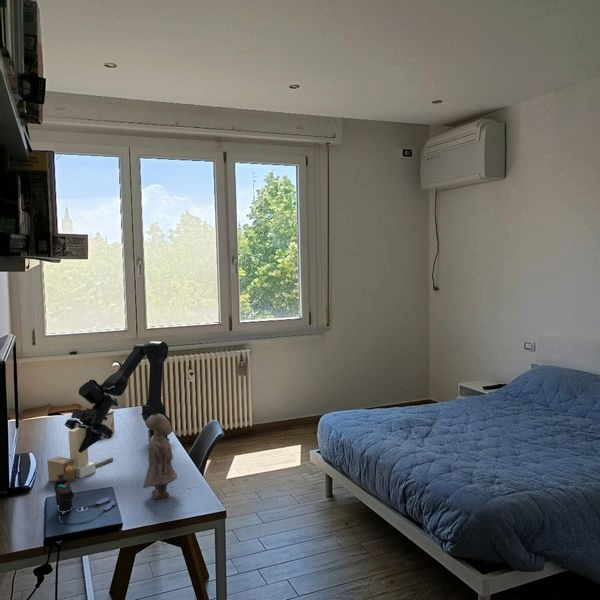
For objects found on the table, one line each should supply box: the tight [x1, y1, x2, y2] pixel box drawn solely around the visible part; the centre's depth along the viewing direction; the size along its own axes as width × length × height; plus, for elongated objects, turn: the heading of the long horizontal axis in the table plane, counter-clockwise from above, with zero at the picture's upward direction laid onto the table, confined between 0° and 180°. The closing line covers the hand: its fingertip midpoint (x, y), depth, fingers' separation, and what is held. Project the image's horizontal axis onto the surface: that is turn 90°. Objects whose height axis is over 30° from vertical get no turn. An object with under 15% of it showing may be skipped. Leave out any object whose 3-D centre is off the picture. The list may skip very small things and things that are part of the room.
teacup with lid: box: [102, 408, 115, 436], centre depth 236 cm, size 12×9×12 cm
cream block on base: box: [68, 428, 96, 479], centre depth 188 cm, size 6×8×15 cm
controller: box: [52, 474, 75, 511], centre depth 158 cm, size 4×12×10 cm, turn 32°
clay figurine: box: [142, 413, 178, 499], centre depth 167 cm, size 13×10×25 cm
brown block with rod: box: [47, 455, 114, 483], centre depth 190 cm, size 22×8×7 cm, turn 150°
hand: (75, 451), depth 187 cm, fingers closed on cream block on base, 4 cm apart
